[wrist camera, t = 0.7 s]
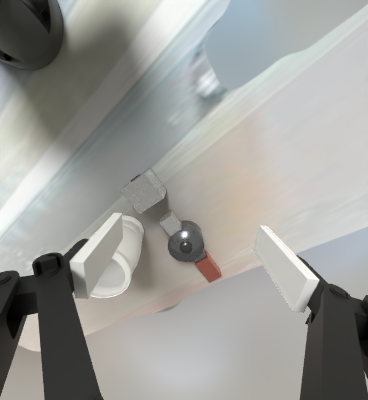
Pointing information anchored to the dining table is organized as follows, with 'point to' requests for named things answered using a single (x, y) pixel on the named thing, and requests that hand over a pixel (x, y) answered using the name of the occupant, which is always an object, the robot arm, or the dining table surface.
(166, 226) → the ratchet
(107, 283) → the jar
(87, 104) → the dining table surface
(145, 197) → the grey cube
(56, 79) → the dining table surface
